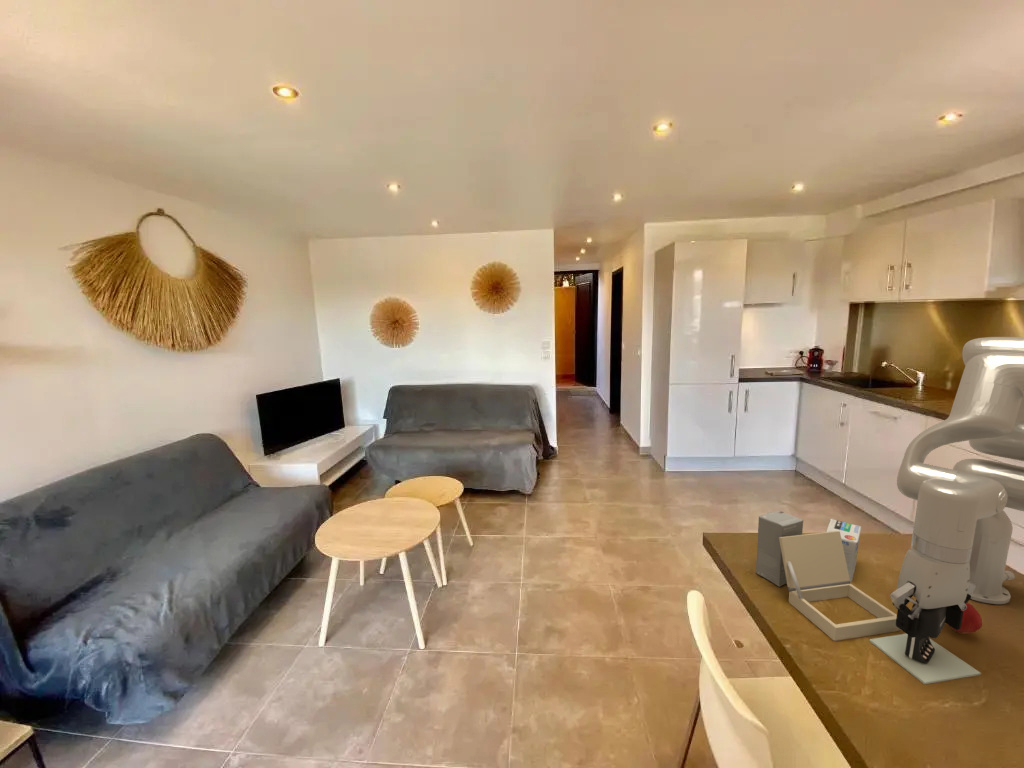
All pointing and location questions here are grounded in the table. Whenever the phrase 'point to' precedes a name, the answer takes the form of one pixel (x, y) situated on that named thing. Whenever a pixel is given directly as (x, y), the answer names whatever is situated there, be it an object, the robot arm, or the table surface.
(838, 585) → the case
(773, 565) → the skincare box
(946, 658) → the mat
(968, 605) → the red fruit
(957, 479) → the robot arm
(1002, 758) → the table surface
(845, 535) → the light bulb box
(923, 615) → the battery charger
